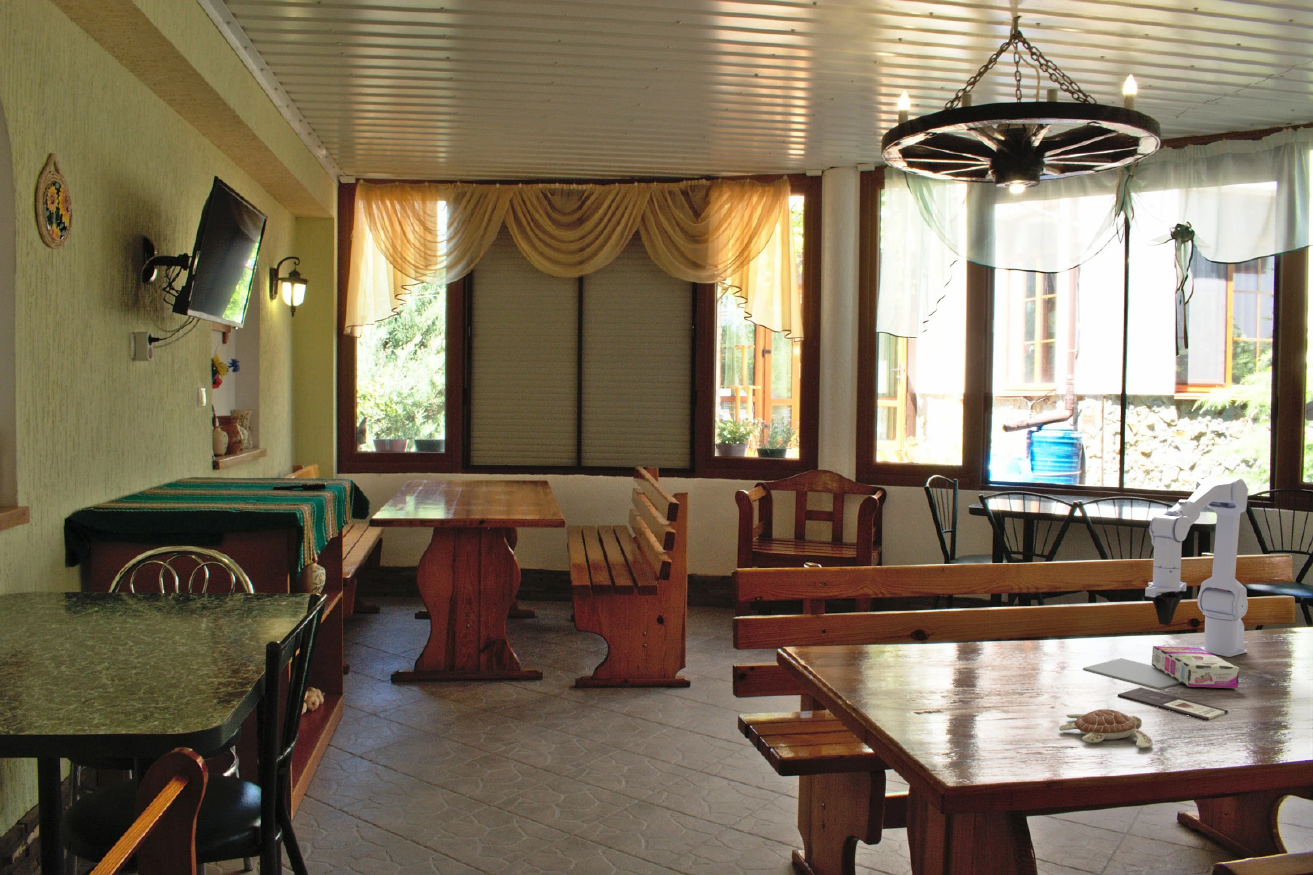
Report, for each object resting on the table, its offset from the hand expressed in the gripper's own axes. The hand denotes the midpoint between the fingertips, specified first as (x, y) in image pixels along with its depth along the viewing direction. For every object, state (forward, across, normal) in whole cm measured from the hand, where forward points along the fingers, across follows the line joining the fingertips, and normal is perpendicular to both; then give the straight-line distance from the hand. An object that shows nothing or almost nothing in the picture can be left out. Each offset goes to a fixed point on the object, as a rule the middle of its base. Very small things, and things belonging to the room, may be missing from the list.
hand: (1164, 624), depth 229 cm
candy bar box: (+7, -1, +2) cm, 8 cm away
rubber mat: (+10, +10, 0) cm, 14 cm away
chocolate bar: (+11, +26, +16) cm, 33 cm away
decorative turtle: (+11, +55, +19) cm, 59 cm away
